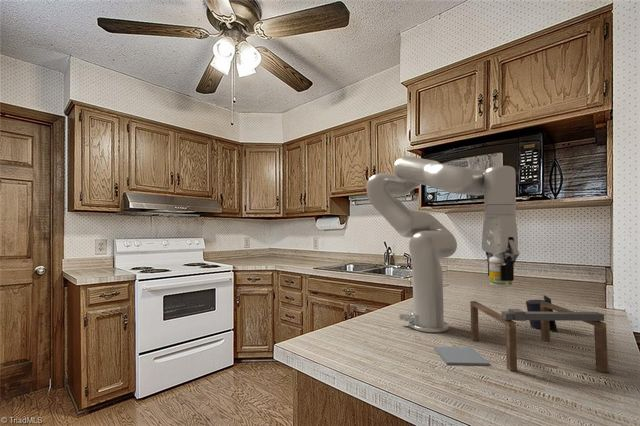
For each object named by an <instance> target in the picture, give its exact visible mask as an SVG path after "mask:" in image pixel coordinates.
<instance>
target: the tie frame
mask: <svg viewBox="0 0 640 426" xmlns="http://www.w3.org/2000/svg"><path fill="white" fill-rule="evenodd" d="M469 302H470V303H469V304H470V334H471V337H470V338H471V340H472V341H476V342H479V341H480V339H479V338H480V336H479V335H480V334H479V330H480V329H479V311H481V312H483V313H485V314H486V315H487V316H489V317H491V318H493V319H495V320H496V321H498V322H500V323H502V324H503V325H505V344H506V345H505V347H506V349H505V350H506V351H505V352H506V369H507V370H508V371H509V372H518V359H517V357H518V353H517V351H518V350H517V321H515V320H505V319H503V318H502V314H501V313H499V312H497V311H495V310H493V309H491V308H489V307H487V306H485V305H484V304H482V303H480V302H479V301H476V300H470V301H469ZM551 303H552V302H551ZM551 303H548V302H540V312H549V309H552V310H553V311H554V312H574V311H573V310H571V309H567V308H564V307H562V306H558V305H556V304H553V303H552V304H551ZM582 322H583V323H586V324H588V325H592V326H593V330H594V331H593V334H594V355H595V359H594V360H595V361H594V362H595V370H596V371H598V372H599V373H601V374H603V373H605V374H607V373H609V365H608V364H609V362H608V361H609V360H608V358H609V357H608V356H609V355H608V339H607V338H608V337H607V335H608V334H607V332H608V331H607V323H606V322H604V321H582ZM550 329H551V328H550V324H549V320H541V329H540V337H541V338H540V339H541V341H543V342H547V343H548V342H551V330H550Z"/></svg>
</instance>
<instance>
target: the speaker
mask: <svg viewBox="0 0 640 426" xmlns="http://www.w3.org/2000/svg"><path fill="white" fill-rule="evenodd" d="M540 302H548V303H551V304H553V302H552V299H551V298H550V297H548V296H547V295H545V294H544V295H543V299H529V300H526V301H525V306H526V311H530V312H540ZM549 312H554V310H552V309H549ZM528 321H529V324H530V328H533V329H539V330H541V320H528ZM549 324H550V329H552V330H553V331H554V332H555V333H558V327H557V322H556V321H554V320H549Z"/></svg>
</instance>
